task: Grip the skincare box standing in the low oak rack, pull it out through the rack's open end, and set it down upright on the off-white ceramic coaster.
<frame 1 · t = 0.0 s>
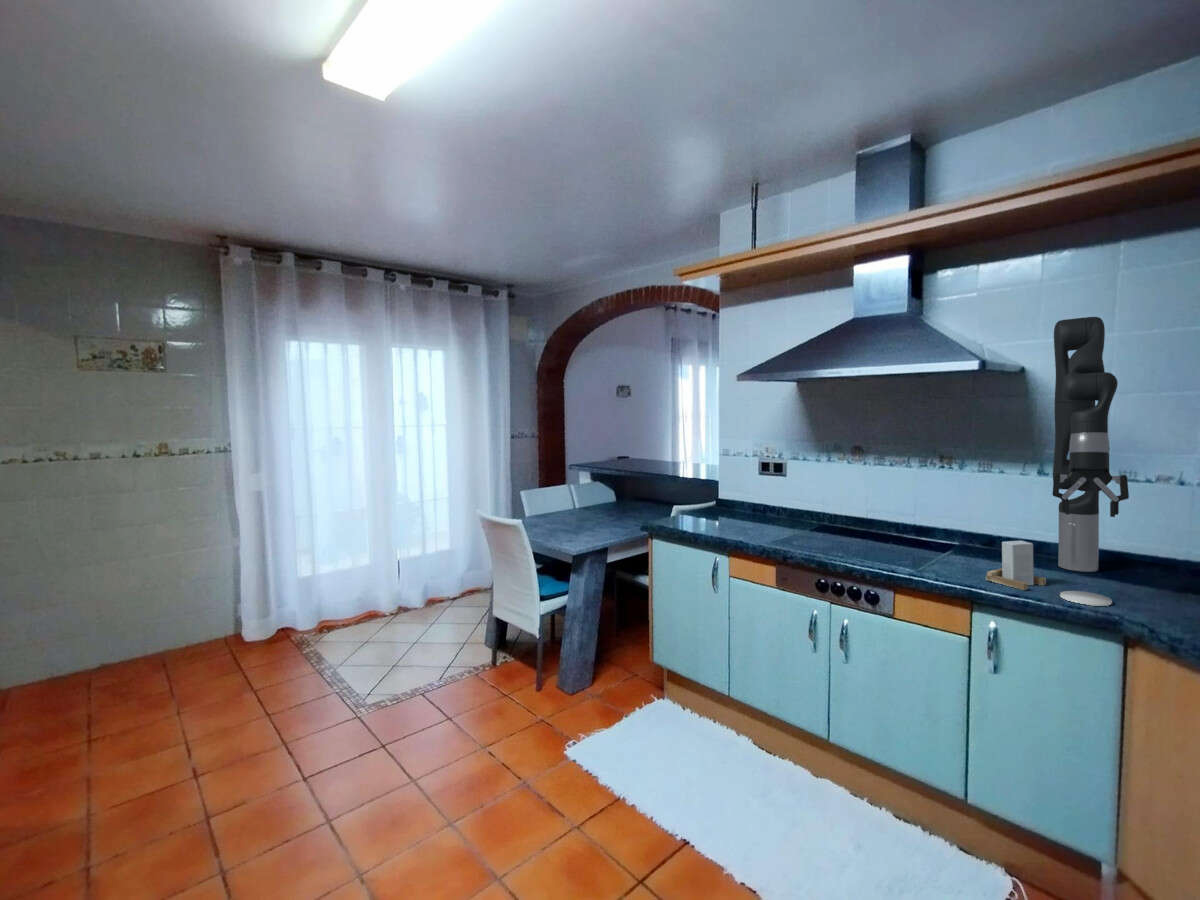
hand: (1089, 515, 138), 22 cm above the countertop, tool pointing down, fingers open, 8 cm apart
rack: (1017, 583, 156), on the countertop
skincare box: (1017, 584, 156), resting in rack
coaster: (1085, 600, 141), on the countertop
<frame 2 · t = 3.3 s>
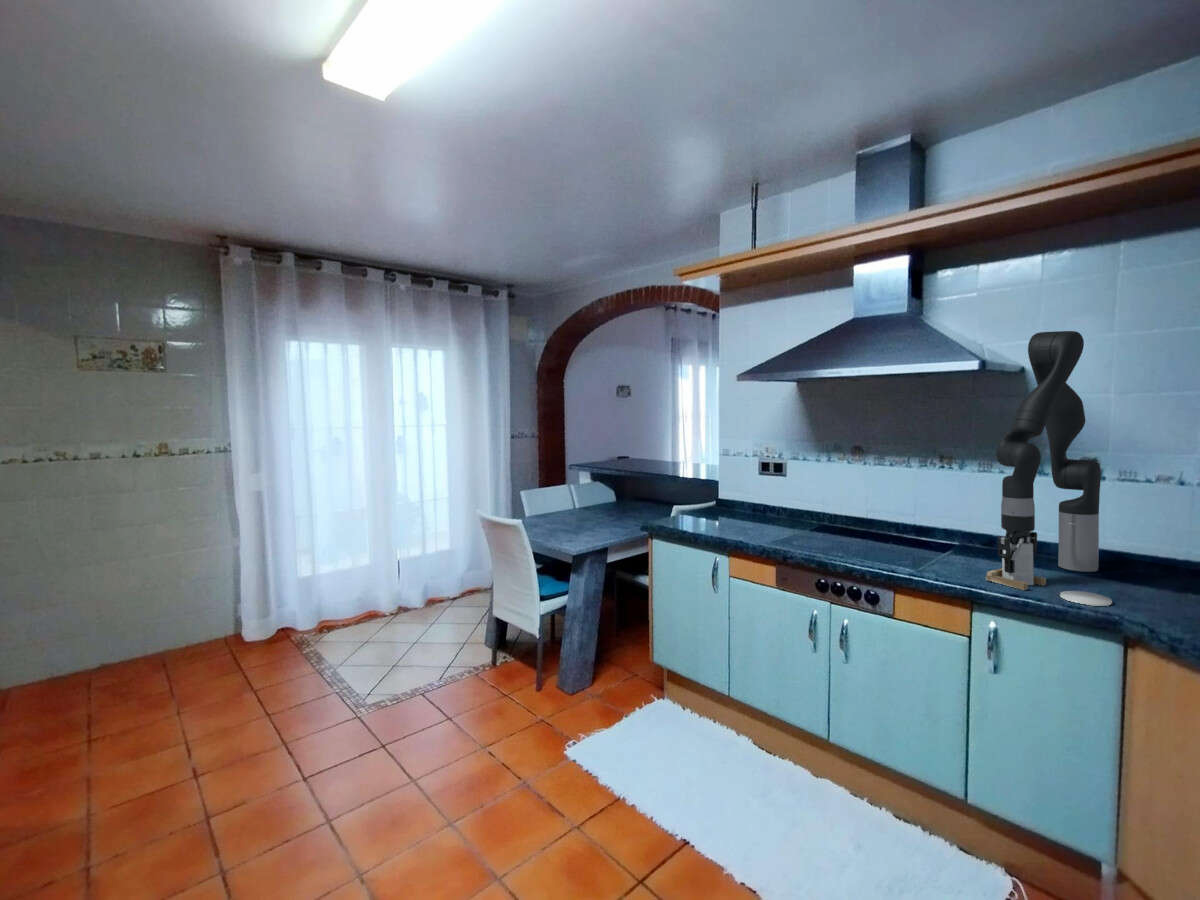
hand: (1017, 570, 155), 4 cm above the countertop, tool pointing down, fingers closed on skincare box, 7 cm apart
skincare box: (1017, 584, 156), resting in rack, touching gripper
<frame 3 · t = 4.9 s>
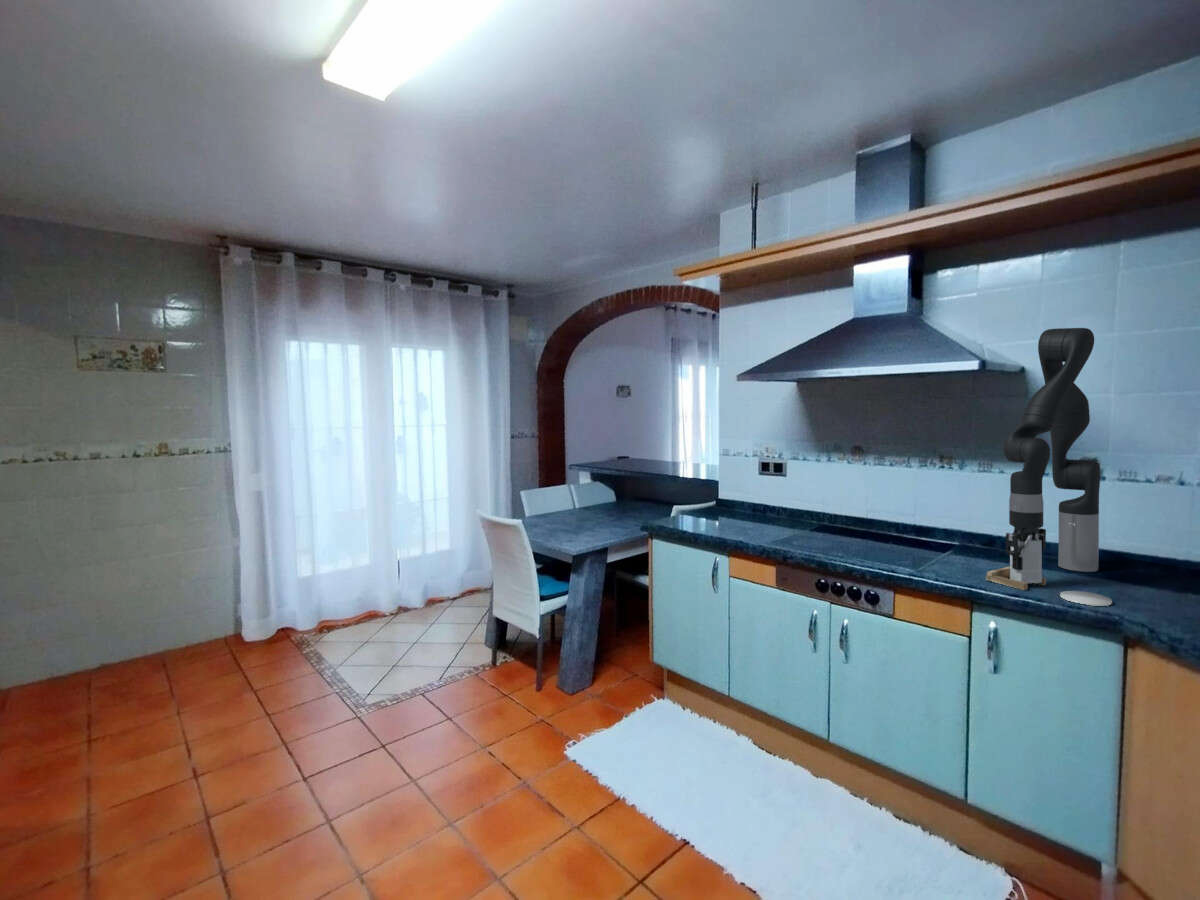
hand: (1026, 567, 153), 5 cm above the countertop, tool pointing down, fingers closed on skincare box, 7 cm apart
skincare box: (1025, 581, 154), point 1 cm above the countertop, touching gripper
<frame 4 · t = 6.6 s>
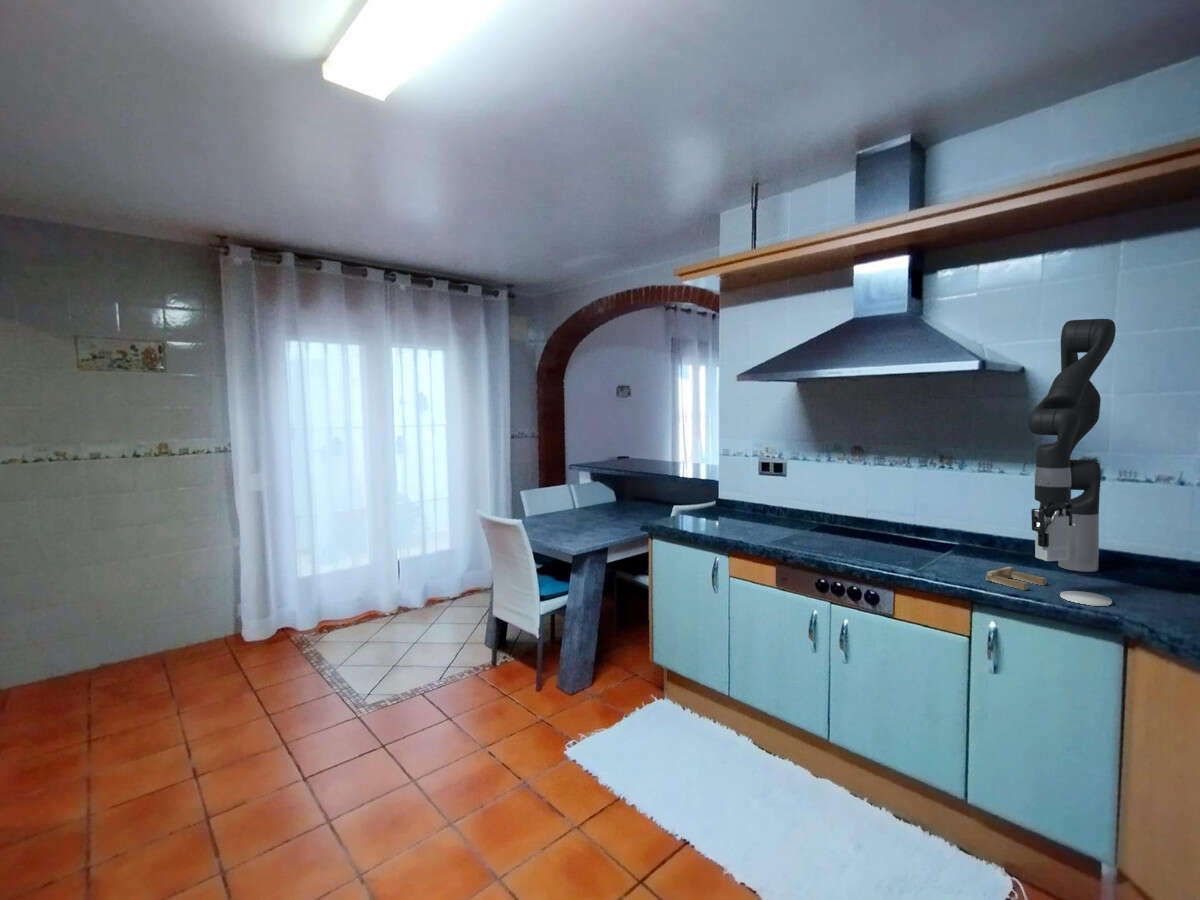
hand: (1051, 544, 147), 13 cm above the countertop, tool pointing down, fingers closed on skincare box, 7 cm apart
skincare box: (1051, 559, 148), point 9 cm above the countertop, touching gripper
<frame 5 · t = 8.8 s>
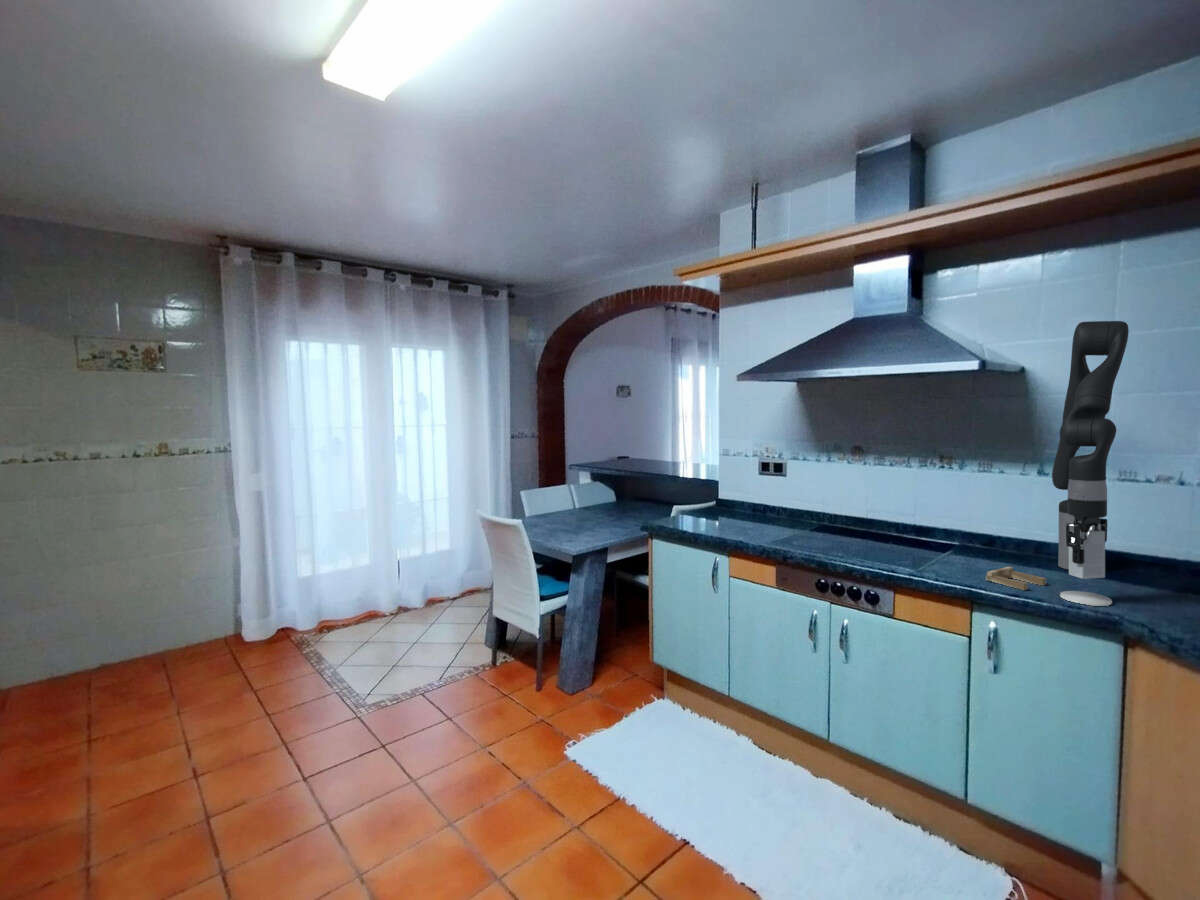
hand: (1086, 561, 140), 10 cm above the countertop, tool pointing down, fingers closed on skincare box, 7 cm apart
skincare box: (1086, 577, 141), point 6 cm above the countertop, touching gripper
when the fingers open (6 cm above the countertop, at t = 10.2 s): skincare box drops 1 cm, resting on coaster.
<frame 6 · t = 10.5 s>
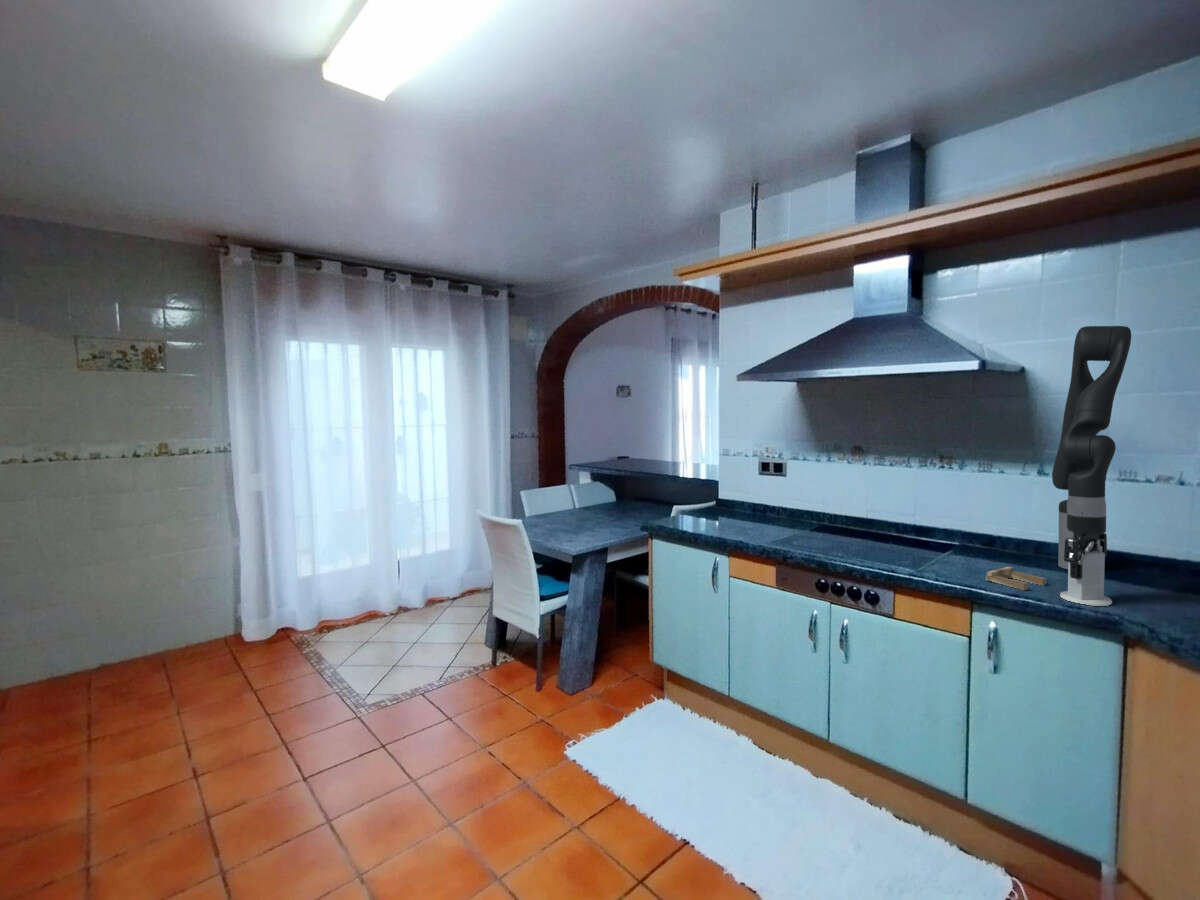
hand: (1085, 575, 141), 6 cm above the countertop, tool pointing down, fingers open, 8 cm apart
skincare box: (1084, 597, 141), point 1 cm above the countertop, touching coaster
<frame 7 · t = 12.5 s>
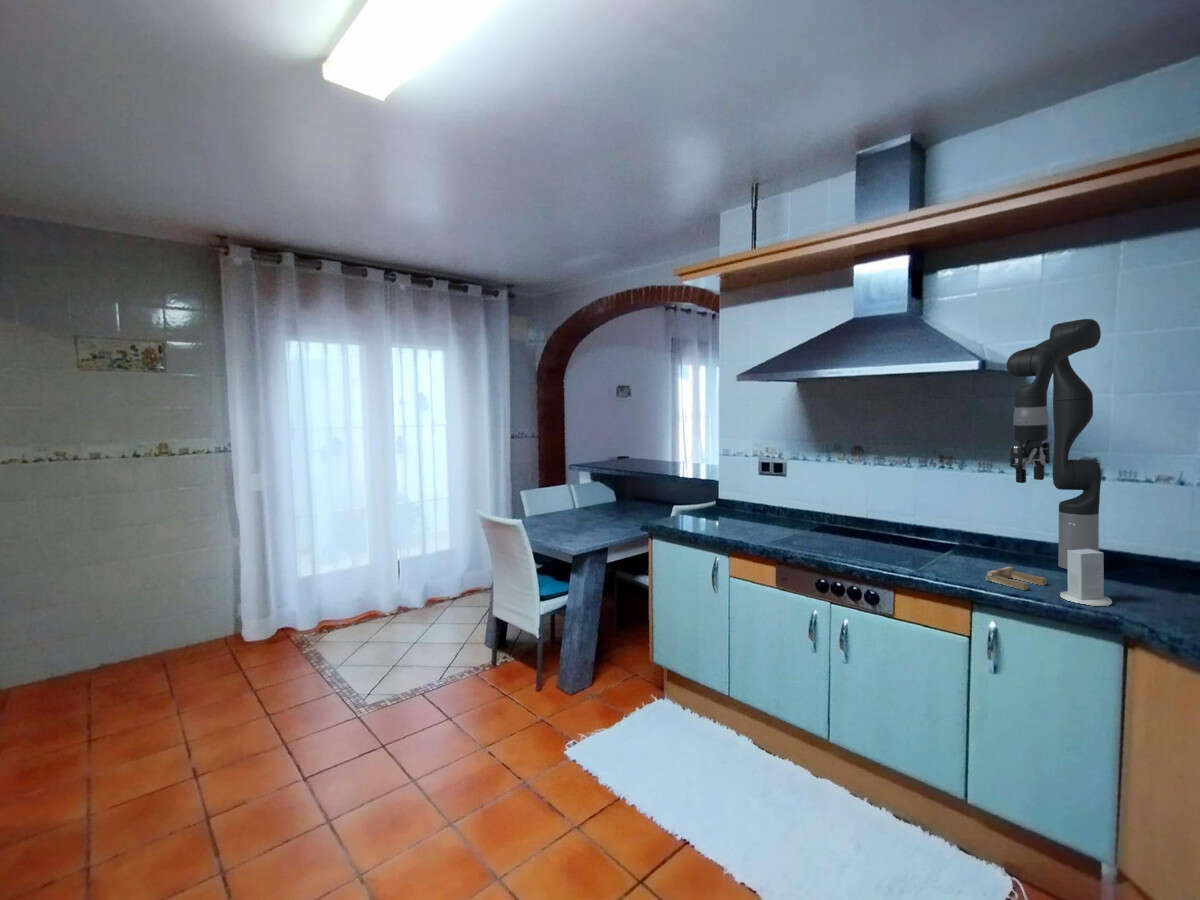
hand: (1030, 481, 153), 29 cm above the countertop, tool pointing down, fingers open, 8 cm apart
nothing on the countertop moved.
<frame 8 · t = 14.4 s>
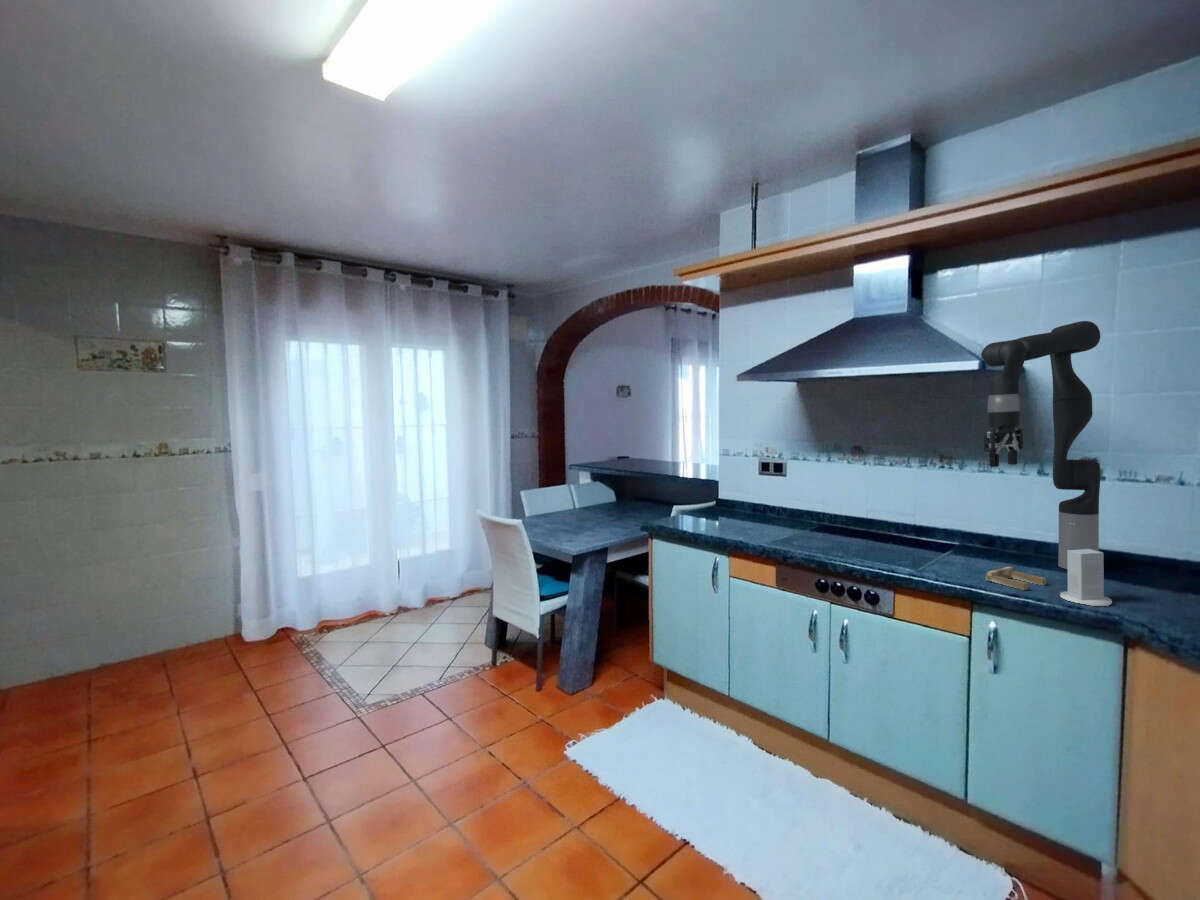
hand: (1003, 465, 161), 33 cm above the countertop, tool pointing down, fingers open, 8 cm apart
nothing on the countertop moved.
at the end: skincare box inside the target area on the coaster (0.1 cm from its centre), point 0.6 cm above the coaster's base; skincare box tilted 0°; the gripper is holding nothing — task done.
